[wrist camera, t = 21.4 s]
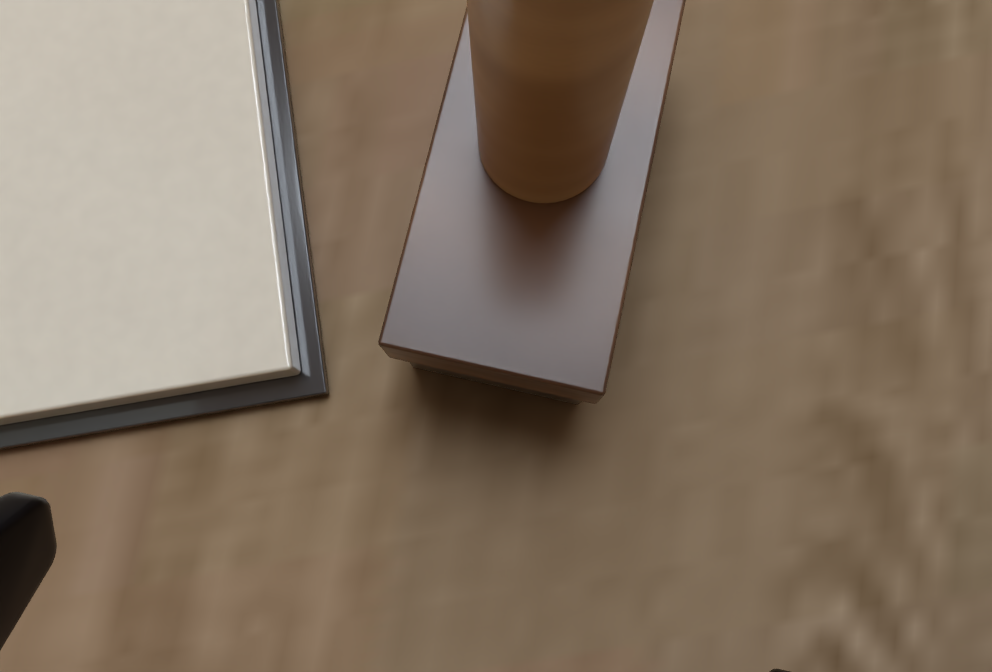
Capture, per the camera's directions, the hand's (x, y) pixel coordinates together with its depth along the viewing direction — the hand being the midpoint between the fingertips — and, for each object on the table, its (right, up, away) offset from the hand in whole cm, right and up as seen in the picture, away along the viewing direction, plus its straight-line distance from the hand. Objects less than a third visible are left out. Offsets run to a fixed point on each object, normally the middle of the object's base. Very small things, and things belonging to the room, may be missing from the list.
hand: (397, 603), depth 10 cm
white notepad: (-11, +7, +10) cm, 16 cm away
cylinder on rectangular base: (+2, +6, +10) cm, 12 cm away
